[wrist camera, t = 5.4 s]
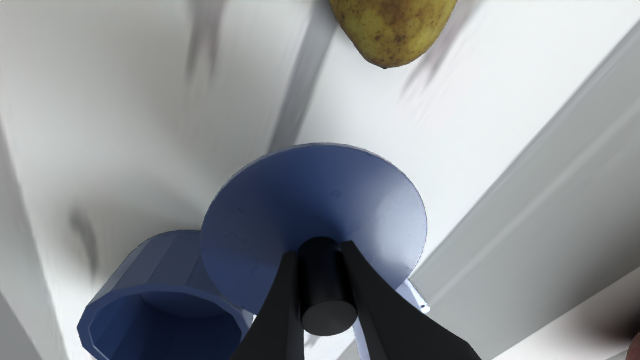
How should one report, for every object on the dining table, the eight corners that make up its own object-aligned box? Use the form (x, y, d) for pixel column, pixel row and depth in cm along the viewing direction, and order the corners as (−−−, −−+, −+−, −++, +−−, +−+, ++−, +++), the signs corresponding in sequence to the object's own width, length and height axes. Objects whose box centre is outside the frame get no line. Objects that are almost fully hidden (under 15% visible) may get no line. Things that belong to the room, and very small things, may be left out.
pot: (280, 260, 23) (277, 315, 18) (225, 329, 26) (210, 390, 21) (154, 208, 19) (107, 260, 14) (110, 296, 22) (59, 363, 17)
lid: (459, 209, 14) (532, 274, 10) (336, 326, 18) (351, 410, 14) (282, 83, 10) (276, 100, 6) (170, 270, 14) (115, 366, 10)
